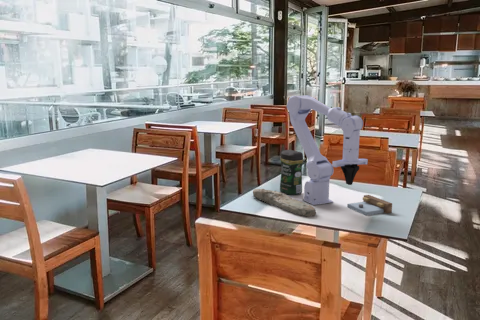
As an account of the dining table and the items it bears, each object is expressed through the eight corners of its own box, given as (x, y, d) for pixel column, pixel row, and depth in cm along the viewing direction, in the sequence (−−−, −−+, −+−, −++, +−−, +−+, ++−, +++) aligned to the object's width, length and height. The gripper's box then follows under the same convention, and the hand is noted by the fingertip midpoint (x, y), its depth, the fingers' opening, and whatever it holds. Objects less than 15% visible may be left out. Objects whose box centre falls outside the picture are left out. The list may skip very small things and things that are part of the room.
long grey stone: (301, 223, 153) (322, 219, 159) (303, 209, 152) (323, 205, 158) (245, 195, 181) (264, 193, 187) (246, 183, 180) (265, 181, 186)
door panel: (366, 216, 157) (366, 209, 157) (347, 208, 167) (347, 201, 167) (383, 214, 160) (383, 206, 160) (363, 206, 170) (364, 199, 170)
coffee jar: (276, 191, 189) (277, 149, 186) (290, 188, 194) (291, 147, 190) (291, 196, 181) (292, 152, 178) (305, 193, 186) (306, 151, 182)
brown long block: (383, 213, 159) (383, 204, 158) (360, 204, 170) (360, 195, 170) (391, 212, 160) (392, 203, 160) (368, 203, 172) (368, 194, 171)
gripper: (340, 151, 154) (339, 188, 157) (373, 149, 160) (371, 184, 163) (329, 148, 161) (328, 184, 163) (361, 146, 166) (359, 180, 169)
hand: (349, 184), depth 163 cm, fingers closed
